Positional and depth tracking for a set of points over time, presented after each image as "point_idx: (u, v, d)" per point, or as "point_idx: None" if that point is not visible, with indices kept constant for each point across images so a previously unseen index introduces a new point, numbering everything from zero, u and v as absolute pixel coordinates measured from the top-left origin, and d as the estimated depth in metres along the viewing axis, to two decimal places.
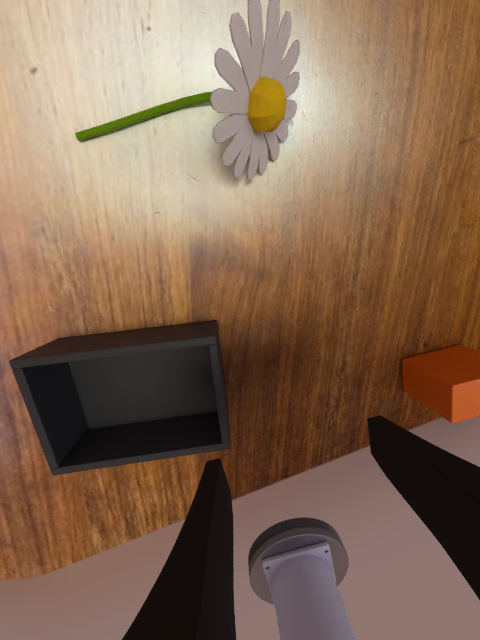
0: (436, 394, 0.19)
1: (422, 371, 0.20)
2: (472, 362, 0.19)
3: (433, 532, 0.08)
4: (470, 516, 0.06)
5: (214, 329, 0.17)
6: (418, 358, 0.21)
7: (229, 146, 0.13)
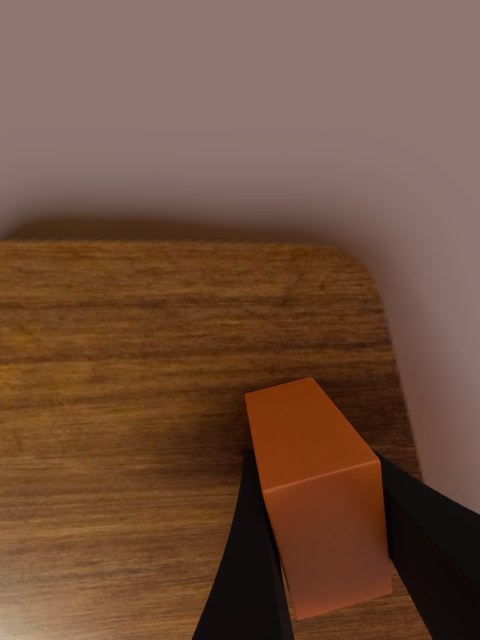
0: None
1: None
2: None
3: None
4: (407, 534, 0.06)
5: None
6: None
7: None
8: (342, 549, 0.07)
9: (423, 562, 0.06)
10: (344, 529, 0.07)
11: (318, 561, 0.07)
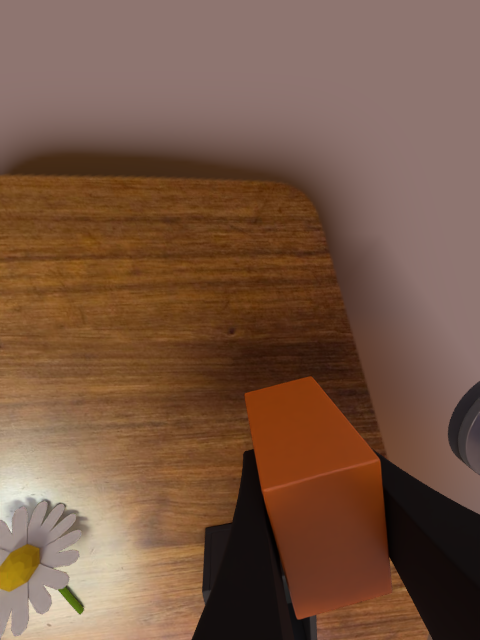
0: None
1: None
2: None
3: None
4: (407, 534, 0.06)
5: None
6: None
7: (53, 587, 0.17)
8: (341, 549, 0.07)
9: (423, 562, 0.06)
10: (343, 528, 0.07)
11: (318, 560, 0.07)
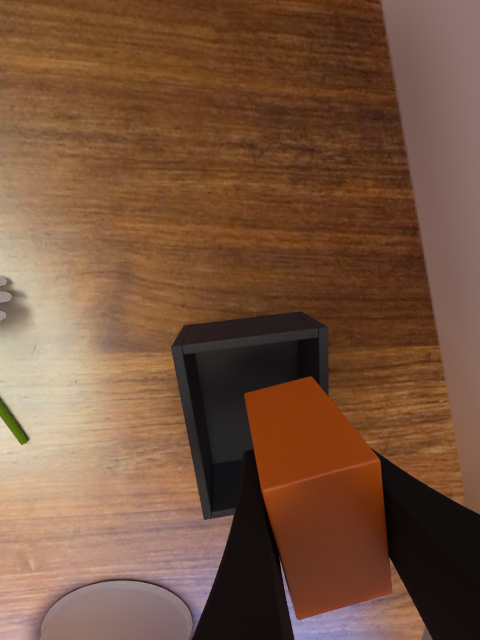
0: None
1: None
2: None
3: None
4: (408, 534, 0.06)
5: None
6: None
7: None
8: (341, 549, 0.07)
9: (423, 562, 0.06)
10: (344, 529, 0.07)
11: (318, 560, 0.07)
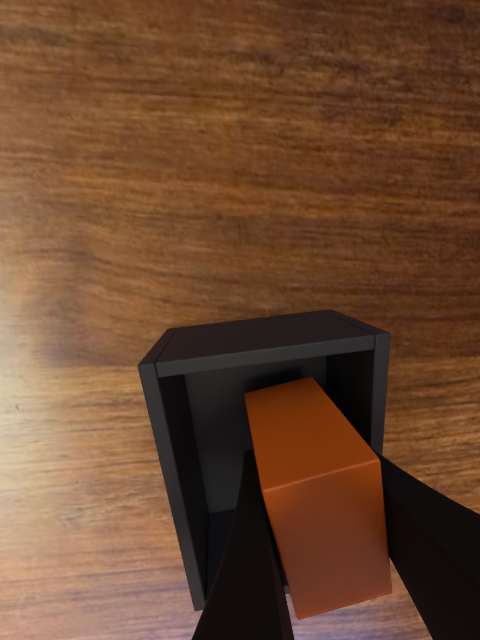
0: None
1: None
2: None
3: None
4: (408, 534, 0.06)
5: None
6: None
7: None
8: (341, 549, 0.07)
9: (423, 562, 0.06)
10: (344, 528, 0.07)
11: (318, 560, 0.07)
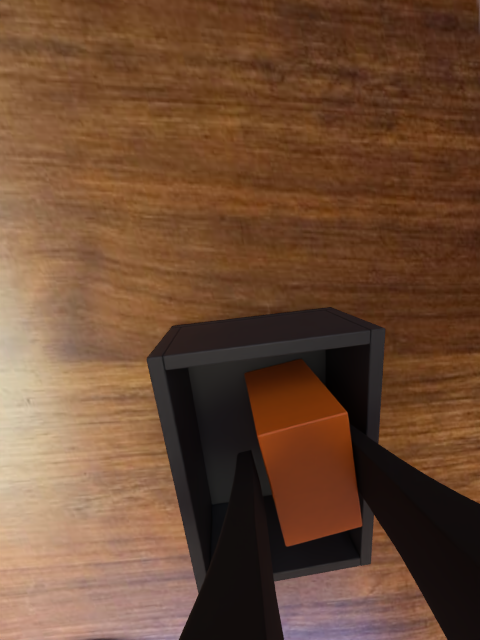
0: None
1: None
2: None
3: (394, 543, 0.08)
4: (420, 530, 0.06)
5: None
6: None
7: None
8: (320, 486, 0.09)
9: (437, 558, 0.06)
10: (321, 468, 0.09)
11: (302, 495, 0.09)
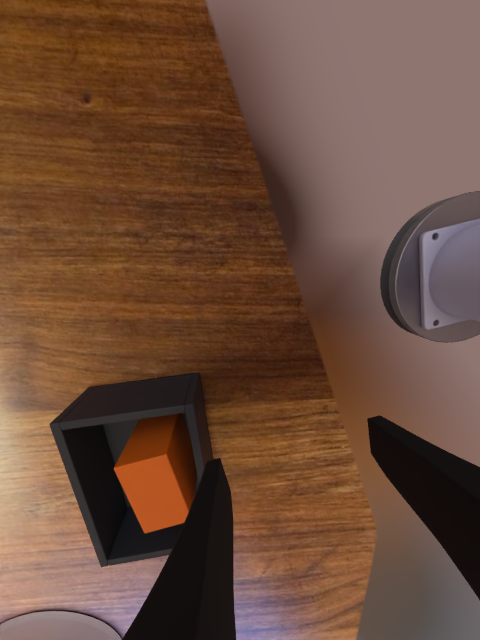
0: None
1: None
2: None
3: (433, 532, 0.08)
4: (470, 516, 0.06)
5: None
6: None
7: None
8: (158, 496, 0.15)
9: None
10: (156, 486, 0.15)
11: (147, 502, 0.15)
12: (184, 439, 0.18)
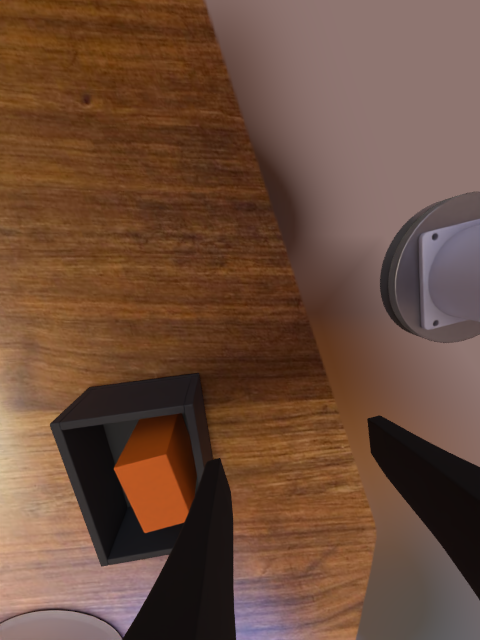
0: None
1: None
2: None
3: (433, 532, 0.08)
4: (470, 516, 0.06)
5: None
6: None
7: None
8: (158, 496, 0.15)
9: None
10: (156, 486, 0.15)
11: (147, 501, 0.15)
12: (184, 439, 0.19)
